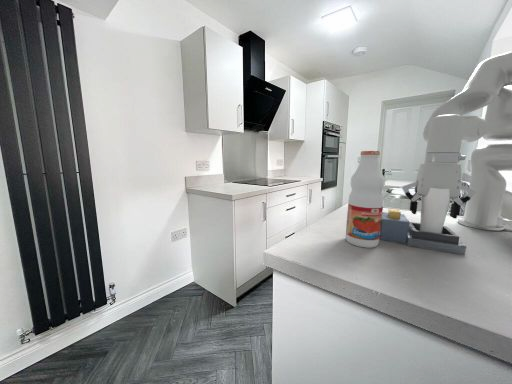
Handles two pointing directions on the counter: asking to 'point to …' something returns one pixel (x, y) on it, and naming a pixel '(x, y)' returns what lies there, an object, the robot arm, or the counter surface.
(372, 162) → the fruit juice
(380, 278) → the counter surface
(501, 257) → the counter surface
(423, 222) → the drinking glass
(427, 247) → the grey tray
